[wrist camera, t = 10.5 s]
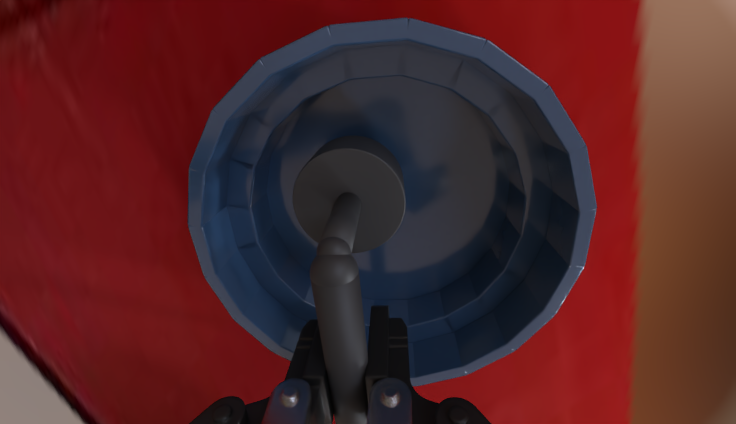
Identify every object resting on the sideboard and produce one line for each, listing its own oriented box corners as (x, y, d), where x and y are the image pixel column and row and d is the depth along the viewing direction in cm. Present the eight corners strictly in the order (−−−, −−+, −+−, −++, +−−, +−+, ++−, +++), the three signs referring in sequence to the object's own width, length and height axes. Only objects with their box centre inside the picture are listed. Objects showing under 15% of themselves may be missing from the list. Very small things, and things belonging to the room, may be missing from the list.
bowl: (271, 316, 21) (237, 385, 17) (207, 49, 15) (128, 43, 11) (521, 313, 20) (560, 387, 15) (560, 17, 14) (643, -6, 9)
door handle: (299, 138, 15) (226, 197, 8) (401, 131, 14) (409, 187, 8) (339, 390, 21) (316, 537, 14) (412, 390, 20) (421, 541, 14)
